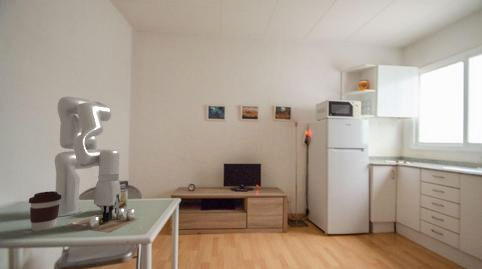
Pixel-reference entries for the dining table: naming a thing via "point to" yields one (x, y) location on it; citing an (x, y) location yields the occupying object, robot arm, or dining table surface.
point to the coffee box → (123, 195)
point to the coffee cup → (44, 210)
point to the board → (104, 226)
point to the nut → (101, 219)
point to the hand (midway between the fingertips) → (107, 220)
